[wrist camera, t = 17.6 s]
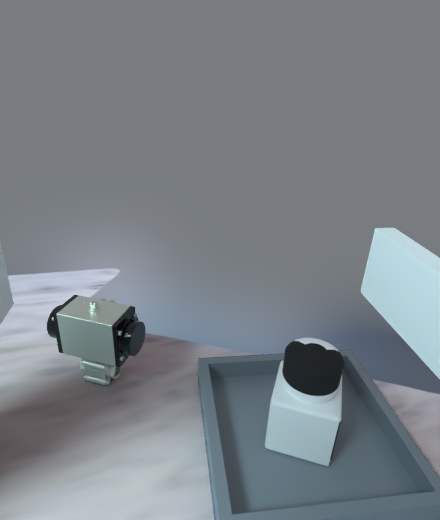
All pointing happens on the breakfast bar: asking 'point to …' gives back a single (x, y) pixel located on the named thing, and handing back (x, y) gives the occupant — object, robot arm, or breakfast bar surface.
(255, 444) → the tray
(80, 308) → the pneumatic valve
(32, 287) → the breakfast bar surface
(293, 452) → the medicine bottle
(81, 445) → the breakfast bar surface
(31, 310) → the breakfast bar surface
